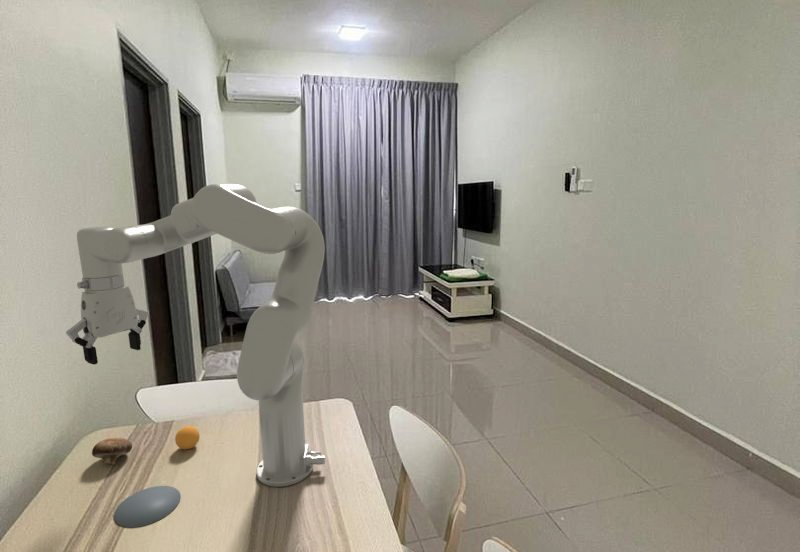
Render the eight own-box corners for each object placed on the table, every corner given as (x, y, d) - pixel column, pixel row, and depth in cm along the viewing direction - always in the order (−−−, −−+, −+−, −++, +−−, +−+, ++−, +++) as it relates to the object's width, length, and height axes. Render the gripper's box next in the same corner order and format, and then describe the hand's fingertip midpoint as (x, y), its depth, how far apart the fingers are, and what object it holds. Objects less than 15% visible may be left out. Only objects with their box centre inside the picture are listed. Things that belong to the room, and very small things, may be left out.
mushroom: (108, 463, 103) (108, 434, 105) (82, 471, 105) (84, 443, 107) (139, 461, 110) (139, 434, 112) (114, 468, 112) (115, 442, 114)
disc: (189, 485, 100) (189, 484, 100) (165, 525, 88) (165, 524, 88) (133, 487, 99) (133, 487, 99) (101, 528, 87) (100, 527, 87)
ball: (203, 441, 117) (201, 421, 116) (195, 453, 112) (193, 433, 111) (181, 441, 117) (179, 422, 116) (172, 454, 111) (170, 433, 110)
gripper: (70, 293, 92) (83, 372, 95) (151, 277, 107) (160, 346, 110) (51, 289, 96) (64, 366, 99) (132, 274, 110) (141, 341, 114)
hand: (114, 355), depth 105 cm, fingers open, 9 cm apart
